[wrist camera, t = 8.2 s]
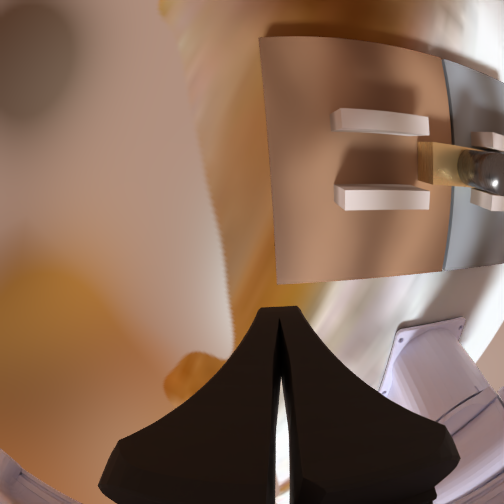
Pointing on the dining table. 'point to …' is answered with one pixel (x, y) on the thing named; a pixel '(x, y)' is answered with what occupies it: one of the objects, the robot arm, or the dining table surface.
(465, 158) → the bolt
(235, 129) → the dining table surface
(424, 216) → the two-tone tabbed panel
